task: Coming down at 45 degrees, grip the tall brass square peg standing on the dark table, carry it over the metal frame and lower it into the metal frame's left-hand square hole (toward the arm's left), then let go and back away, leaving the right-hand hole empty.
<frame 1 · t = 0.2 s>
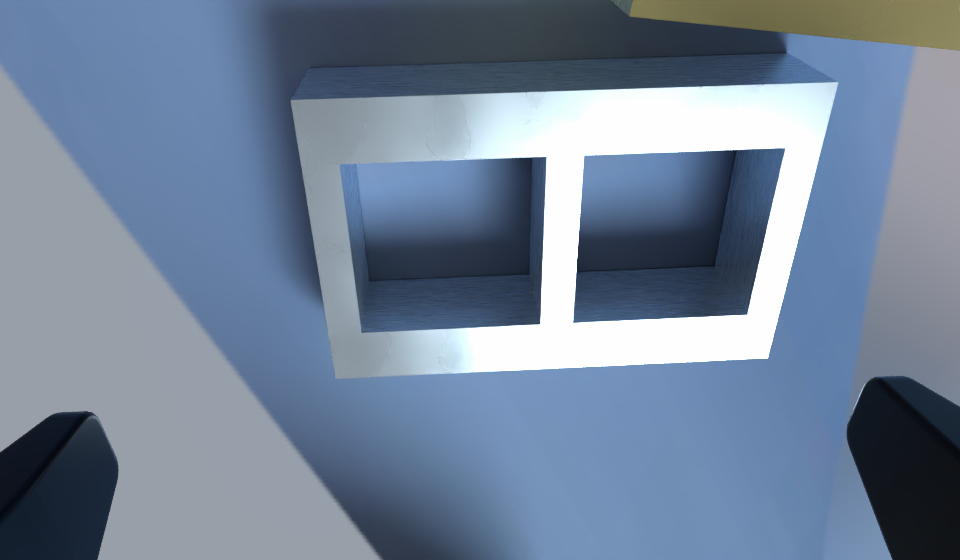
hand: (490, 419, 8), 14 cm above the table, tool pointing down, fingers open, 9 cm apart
metal frame: (546, 201, 23), on the table
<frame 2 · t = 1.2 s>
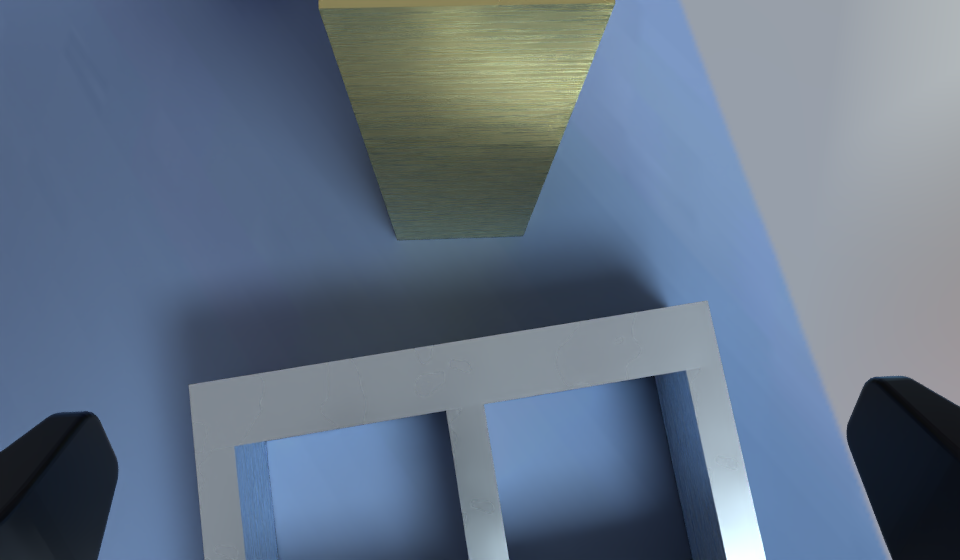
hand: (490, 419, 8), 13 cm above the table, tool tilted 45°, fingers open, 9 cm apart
metal frame: (478, 500, 21), on the table
brass peg: (458, 178, 22), on the table
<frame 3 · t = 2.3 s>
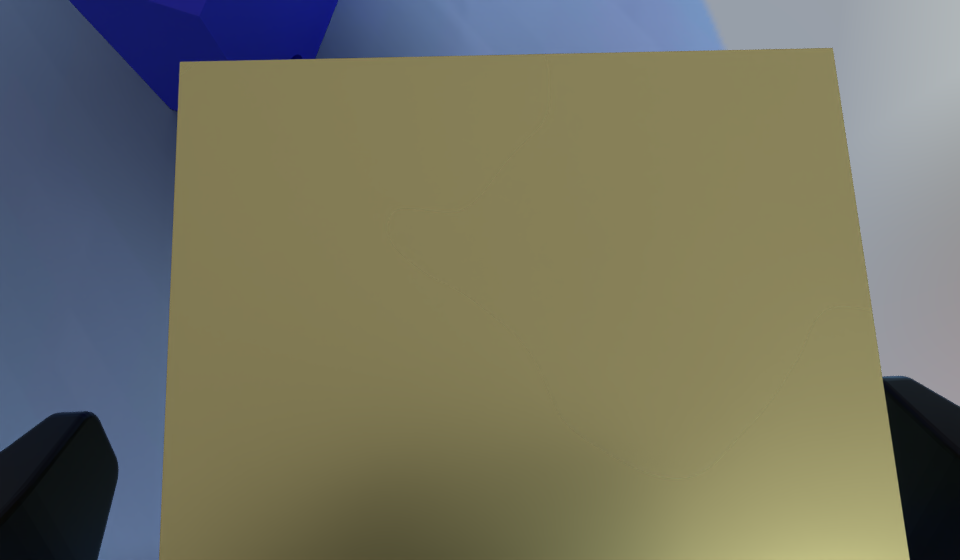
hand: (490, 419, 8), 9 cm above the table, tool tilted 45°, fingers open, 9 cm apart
brass peg: (472, 406, 17), on the table
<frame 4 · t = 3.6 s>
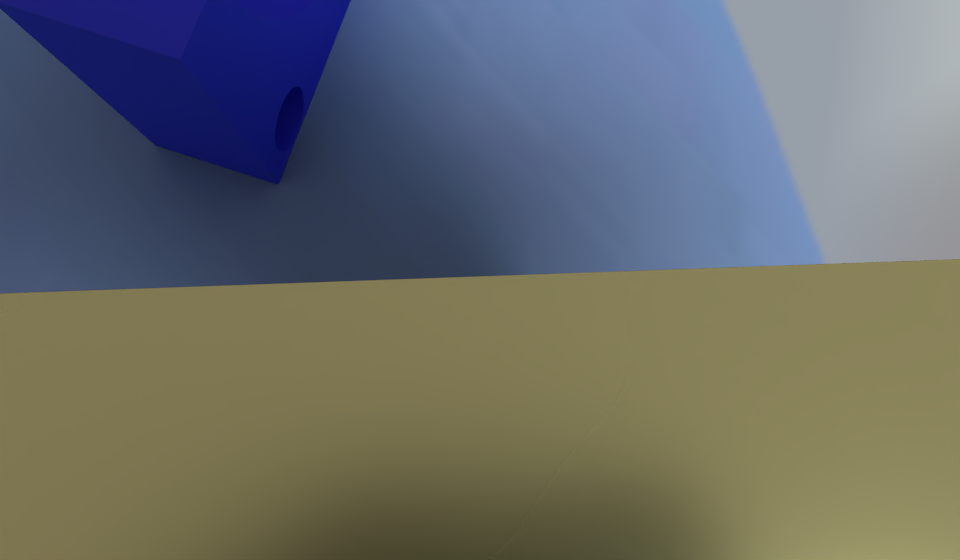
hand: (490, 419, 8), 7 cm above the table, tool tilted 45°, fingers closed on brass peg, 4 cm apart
brass peg: (476, 478, 15), on the table, touching gripper
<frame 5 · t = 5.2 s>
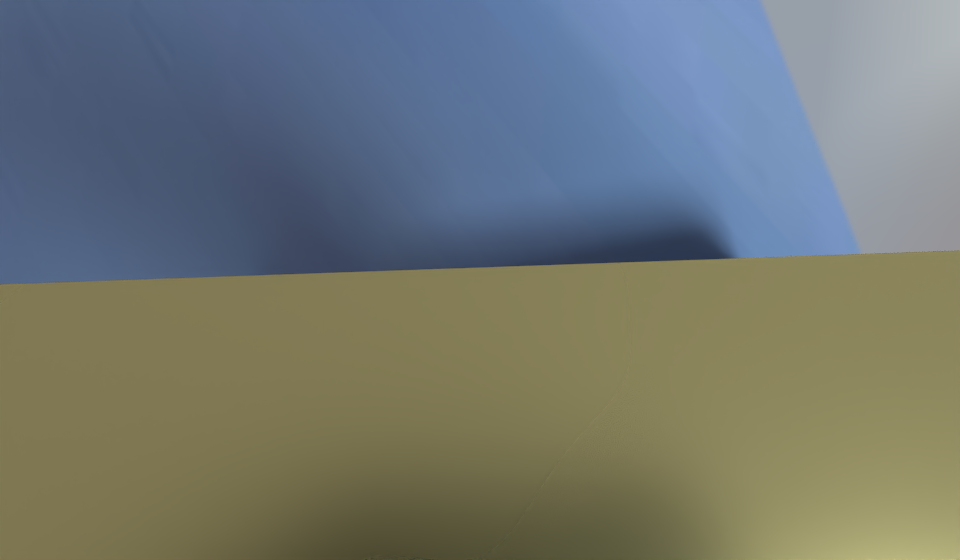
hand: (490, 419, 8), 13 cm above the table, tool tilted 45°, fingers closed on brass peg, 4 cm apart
brass peg: (476, 477, 15), point 6 cm above the table, touching gripper
when the fingers open (8 cm above the table, at t = 6.8 s): brass peg drops 1 cm, resting in metal frame.
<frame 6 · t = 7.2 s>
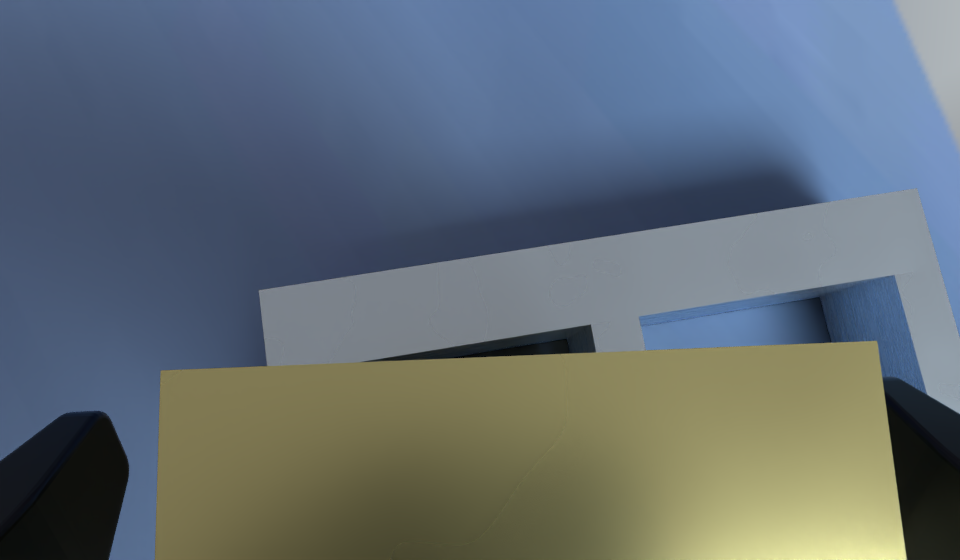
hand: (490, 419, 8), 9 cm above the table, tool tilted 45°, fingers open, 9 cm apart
metal frame: (608, 448, 17), on the table
brass peg: (474, 470, 16), resting in metal frame
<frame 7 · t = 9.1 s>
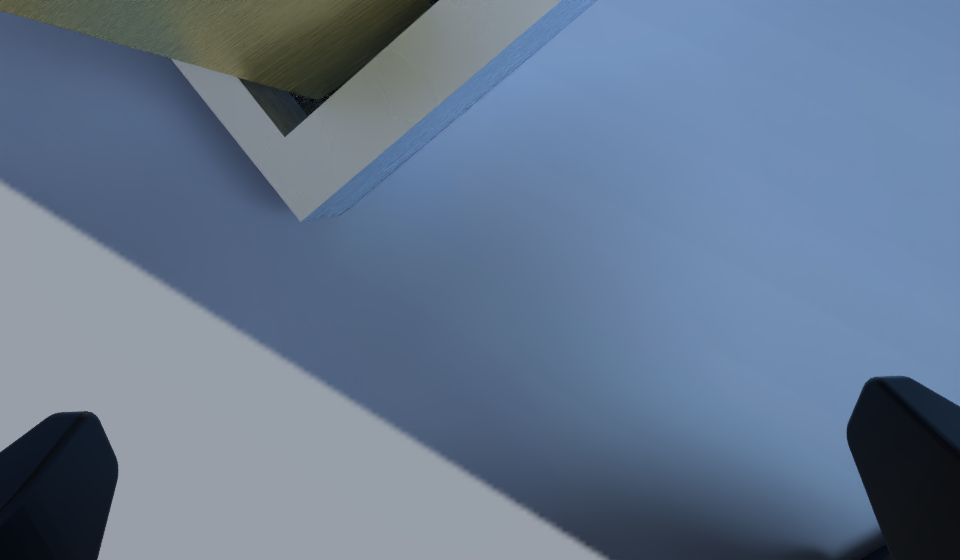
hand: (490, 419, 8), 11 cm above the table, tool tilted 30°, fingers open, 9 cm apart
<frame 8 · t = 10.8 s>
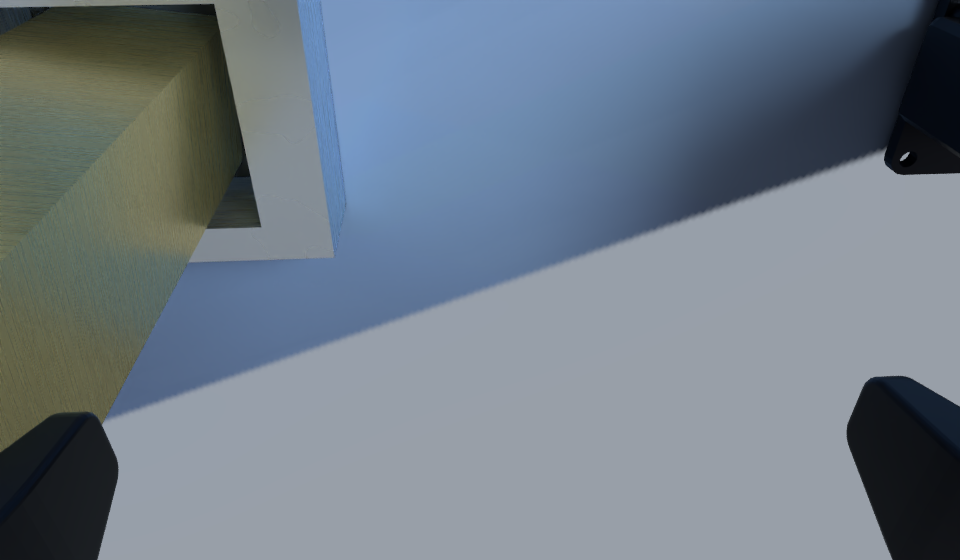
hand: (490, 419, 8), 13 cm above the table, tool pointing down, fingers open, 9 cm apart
brass peg: (160, 85, 19), resting in metal frame
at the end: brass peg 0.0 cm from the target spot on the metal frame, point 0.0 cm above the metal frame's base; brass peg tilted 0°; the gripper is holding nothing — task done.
